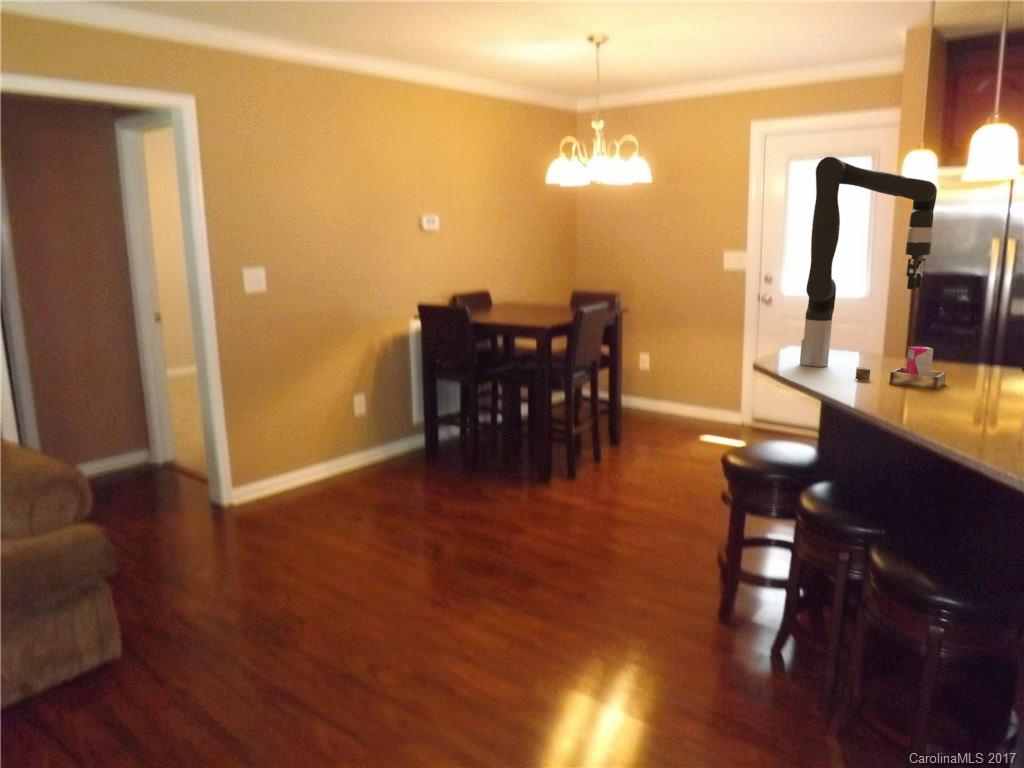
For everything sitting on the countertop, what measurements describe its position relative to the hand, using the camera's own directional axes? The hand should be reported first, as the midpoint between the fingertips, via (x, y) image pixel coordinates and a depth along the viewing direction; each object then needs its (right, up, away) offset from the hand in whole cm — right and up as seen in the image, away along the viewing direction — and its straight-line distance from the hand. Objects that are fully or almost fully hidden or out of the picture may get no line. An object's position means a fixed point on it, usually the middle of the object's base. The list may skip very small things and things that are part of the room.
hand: (913, 288), depth 261 cm
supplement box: (-6, -33, -12) cm, 35 cm away
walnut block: (-20, -32, -5) cm, 38 cm away
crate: (-6, -33, -12) cm, 36 cm away
